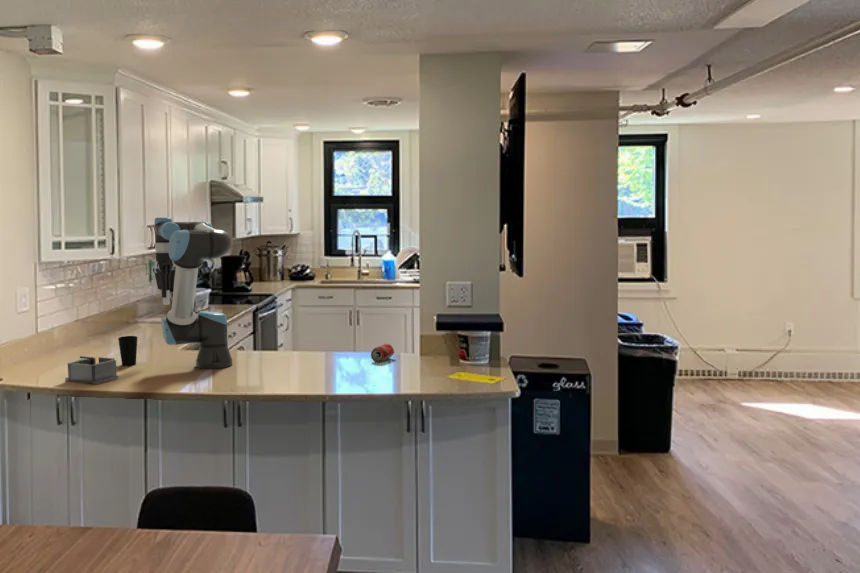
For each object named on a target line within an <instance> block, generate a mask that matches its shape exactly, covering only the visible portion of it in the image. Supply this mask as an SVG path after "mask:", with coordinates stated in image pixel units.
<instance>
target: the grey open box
mask: <svg viewBox="0 0 860 573" xmlns="http://www.w3.org/2000/svg"><path fill="white" fill-rule="evenodd" d="M92 357H93V358H94V364H93V365H91V359H84V358H79V359H76V360H73V361H68V362H67V375H68V376H67V377H65V379H64V380H65V382H69V383H71V382H72V383H81V384H85V385H86V384H88V385H95V386H96V385H99V384H104V383H106V382H112V381H115V380H118V379H119V376H118V374H117V360H116V359H115V360H110V361H106V362H101V363H99V362H97V361H96V359H97V358H96V356H95V357H94V356H92Z"/></svg>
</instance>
